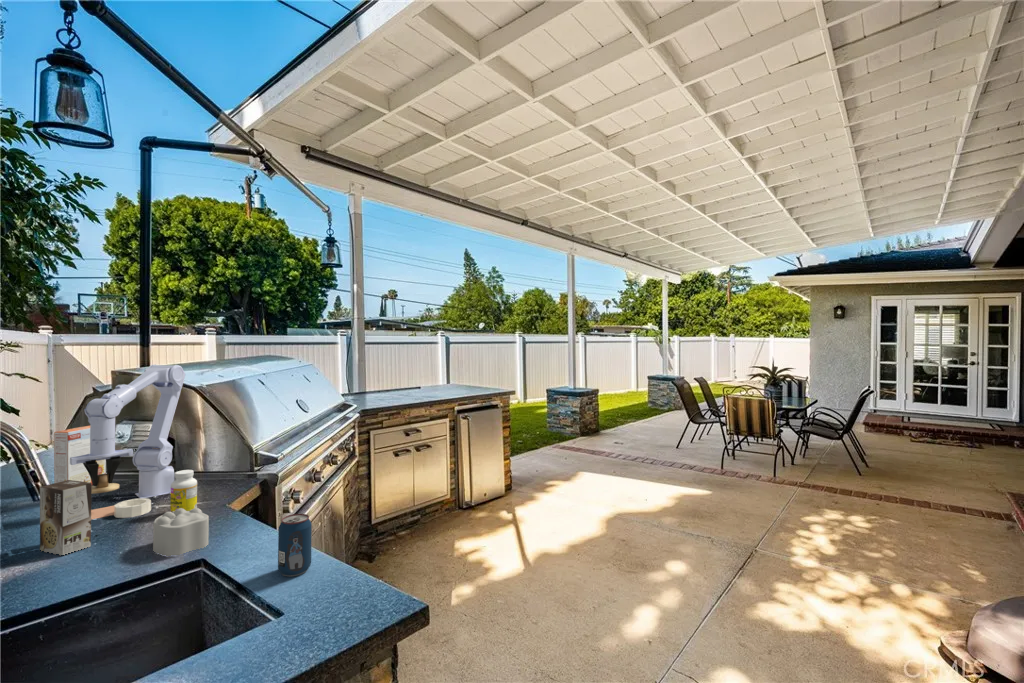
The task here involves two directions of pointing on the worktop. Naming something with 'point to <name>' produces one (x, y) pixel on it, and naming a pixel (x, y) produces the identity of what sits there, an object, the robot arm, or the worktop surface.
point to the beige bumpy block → (180, 532)
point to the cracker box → (73, 455)
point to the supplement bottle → (183, 491)
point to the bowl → (132, 508)
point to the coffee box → (65, 517)
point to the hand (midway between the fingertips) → (102, 484)
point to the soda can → (294, 544)
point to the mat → (102, 512)
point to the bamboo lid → (104, 484)
